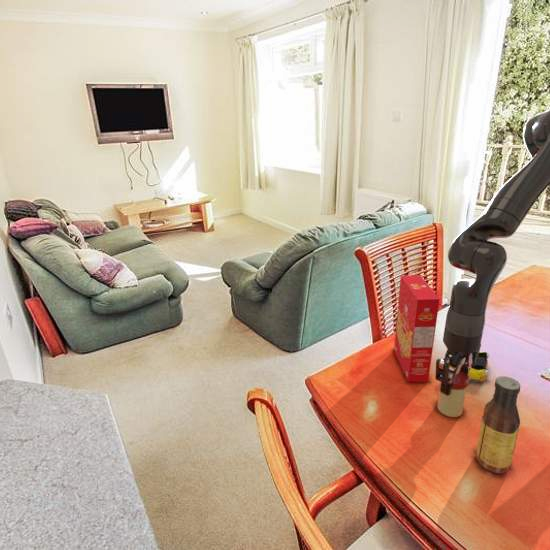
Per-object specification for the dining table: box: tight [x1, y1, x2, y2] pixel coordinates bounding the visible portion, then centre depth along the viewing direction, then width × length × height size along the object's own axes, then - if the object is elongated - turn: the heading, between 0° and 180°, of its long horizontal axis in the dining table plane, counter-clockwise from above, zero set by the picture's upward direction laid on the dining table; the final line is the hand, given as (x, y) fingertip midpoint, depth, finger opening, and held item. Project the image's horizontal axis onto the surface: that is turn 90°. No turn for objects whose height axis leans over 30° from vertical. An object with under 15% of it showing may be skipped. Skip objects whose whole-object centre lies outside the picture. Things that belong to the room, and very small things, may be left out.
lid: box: [449, 368, 470, 389], centre depth 87 cm, size 6×6×1 cm
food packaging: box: [393, 274, 440, 383], centre depth 102 cm, size 15×5×25 cm, turn 178°
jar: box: [436, 383, 468, 418], centre depth 89 cm, size 6×6×9 cm
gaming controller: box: [449, 350, 490, 383], centre depth 103 cm, size 15×6×10 cm
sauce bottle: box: [475, 375, 521, 474], centre depth 73 cm, size 7×6×20 cm
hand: (453, 387), depth 88 cm, fingers closed on lid, 6 cm apart
